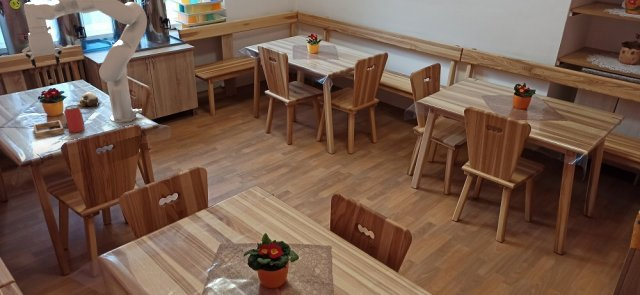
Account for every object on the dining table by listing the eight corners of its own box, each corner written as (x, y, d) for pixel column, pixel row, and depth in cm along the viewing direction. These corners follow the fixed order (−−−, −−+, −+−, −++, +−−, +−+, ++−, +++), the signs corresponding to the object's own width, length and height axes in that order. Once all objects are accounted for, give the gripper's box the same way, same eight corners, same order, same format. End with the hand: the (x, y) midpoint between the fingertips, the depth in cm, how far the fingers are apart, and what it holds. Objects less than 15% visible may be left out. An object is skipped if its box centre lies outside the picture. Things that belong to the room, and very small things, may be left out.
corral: (61, 125, 238) (59, 120, 236) (64, 133, 229) (63, 128, 228) (34, 130, 232) (33, 124, 230) (37, 139, 223) (35, 133, 222)
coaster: (85, 126, 237) (84, 125, 237) (88, 133, 230) (88, 131, 230) (64, 130, 232) (64, 129, 232) (67, 137, 226) (67, 135, 225)
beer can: (78, 133, 228) (73, 110, 222) (66, 132, 229) (60, 108, 224) (87, 128, 233) (82, 105, 228) (75, 127, 235) (69, 104, 229)
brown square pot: (81, 120, 244) (79, 107, 241) (84, 125, 238) (81, 112, 235) (66, 123, 240) (63, 110, 237) (68, 128, 235) (65, 114, 232)
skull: (71, 107, 257) (75, 90, 260) (81, 114, 267) (85, 97, 270) (92, 108, 256) (96, 90, 259) (102, 115, 266) (105, 98, 269)
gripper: (58, 26, 232) (65, 61, 239) (16, 30, 223) (25, 66, 230) (60, 29, 226) (67, 65, 233) (17, 33, 217) (26, 70, 225)
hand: (46, 65), depth 232 cm, fingers open, 9 cm apart
